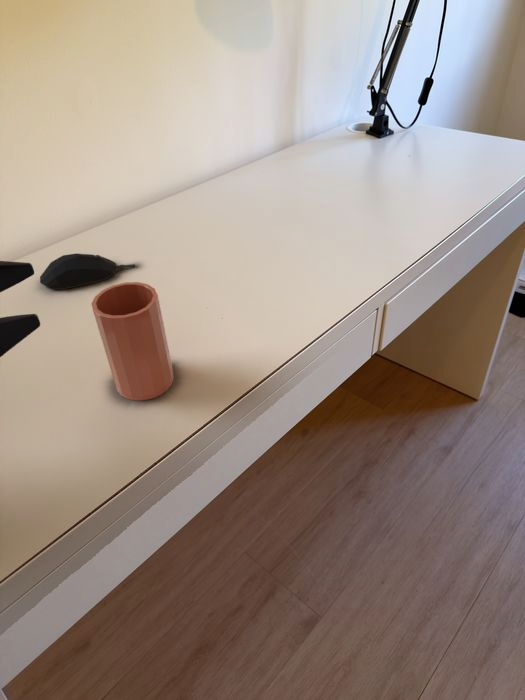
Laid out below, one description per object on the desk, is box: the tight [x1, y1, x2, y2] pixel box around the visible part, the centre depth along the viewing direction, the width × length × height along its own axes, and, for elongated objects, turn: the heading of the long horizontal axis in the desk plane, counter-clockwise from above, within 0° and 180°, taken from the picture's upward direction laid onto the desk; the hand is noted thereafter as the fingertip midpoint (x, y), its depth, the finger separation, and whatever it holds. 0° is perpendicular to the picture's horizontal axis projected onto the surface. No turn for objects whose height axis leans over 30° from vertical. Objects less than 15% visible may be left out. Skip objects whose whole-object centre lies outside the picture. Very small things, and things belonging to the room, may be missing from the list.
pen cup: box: [90, 281, 175, 401], centre depth 61 cm, size 7×7×12 cm
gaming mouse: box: [39, 253, 136, 290], centre depth 84 cm, size 6×15×4 cm, turn 109°
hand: (35, 292), depth 47 cm, fingers open, 9 cm apart
